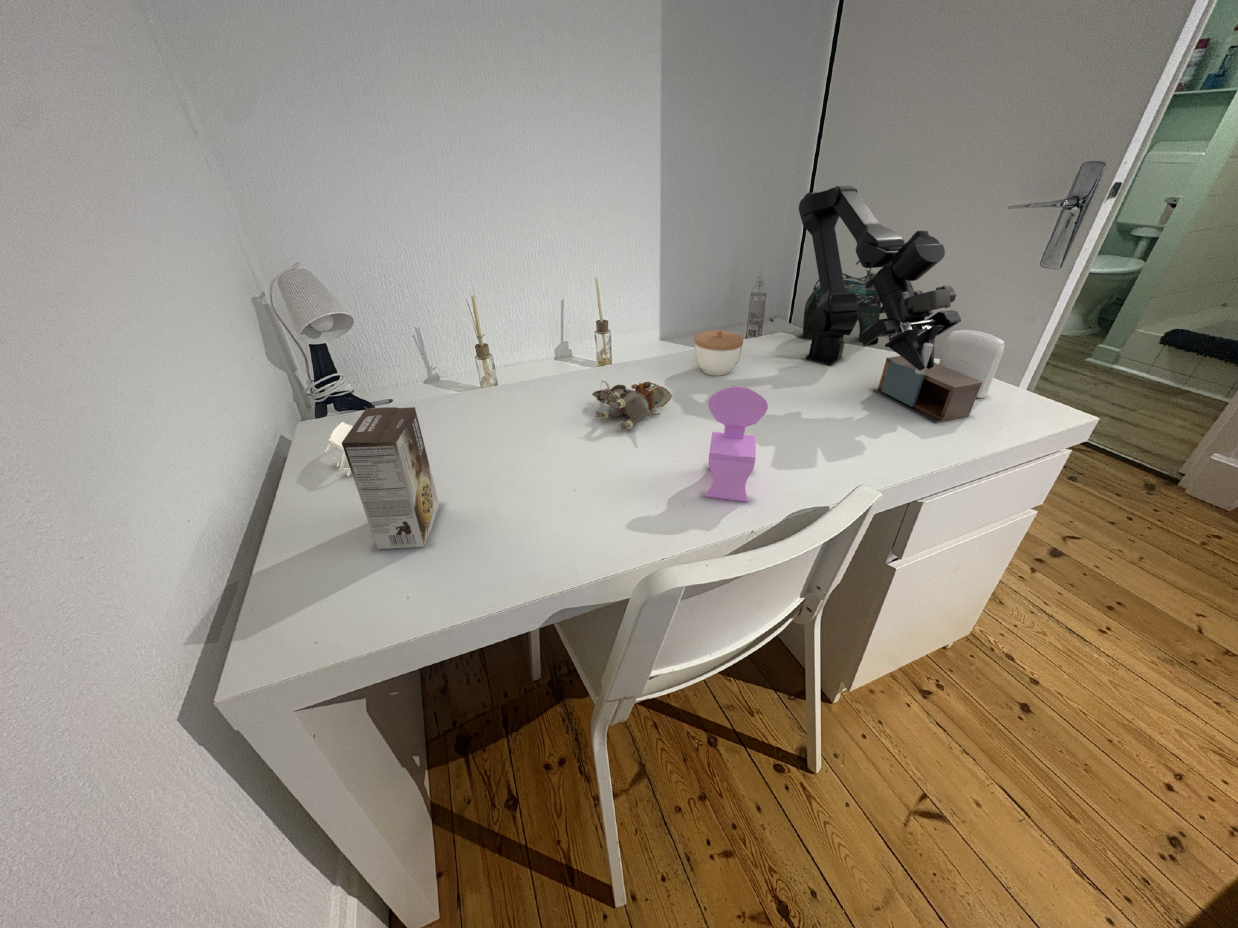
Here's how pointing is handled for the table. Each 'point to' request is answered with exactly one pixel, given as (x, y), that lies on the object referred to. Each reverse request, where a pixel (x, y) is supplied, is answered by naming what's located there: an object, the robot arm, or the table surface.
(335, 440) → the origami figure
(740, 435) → the toy chair
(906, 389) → the sliding door
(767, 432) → the table surface
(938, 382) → the cabinet
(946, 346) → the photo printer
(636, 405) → the figurine
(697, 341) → the trinket box
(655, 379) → the table surface
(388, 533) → the brown food box
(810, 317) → the dark green sculpted piece
